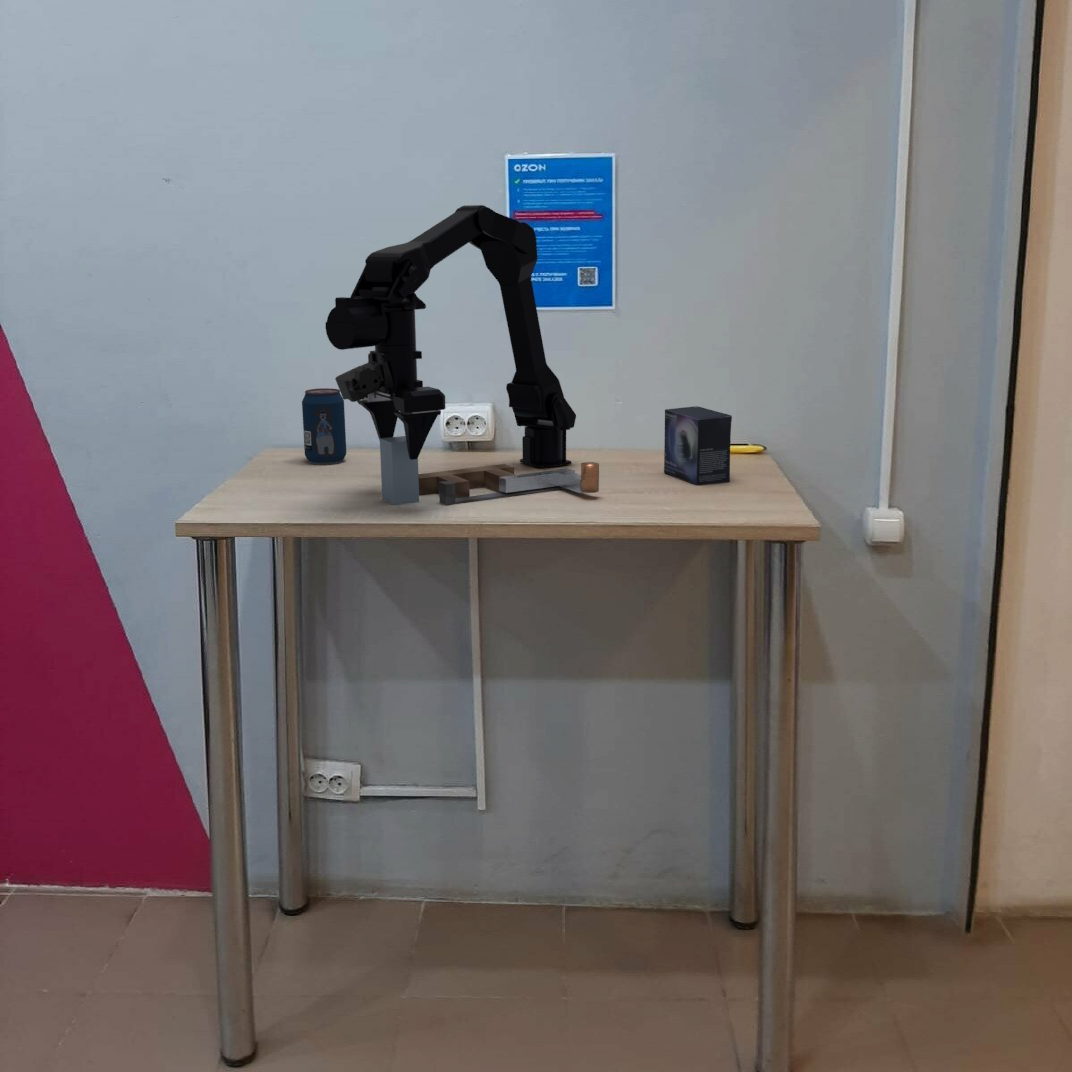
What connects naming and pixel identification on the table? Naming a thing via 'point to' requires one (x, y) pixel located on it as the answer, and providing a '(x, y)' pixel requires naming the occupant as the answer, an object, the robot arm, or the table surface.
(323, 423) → the soda can
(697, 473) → the small box
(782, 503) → the table surface
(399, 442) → the slate blue cuboid
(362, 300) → the robot arm
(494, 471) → the mount
